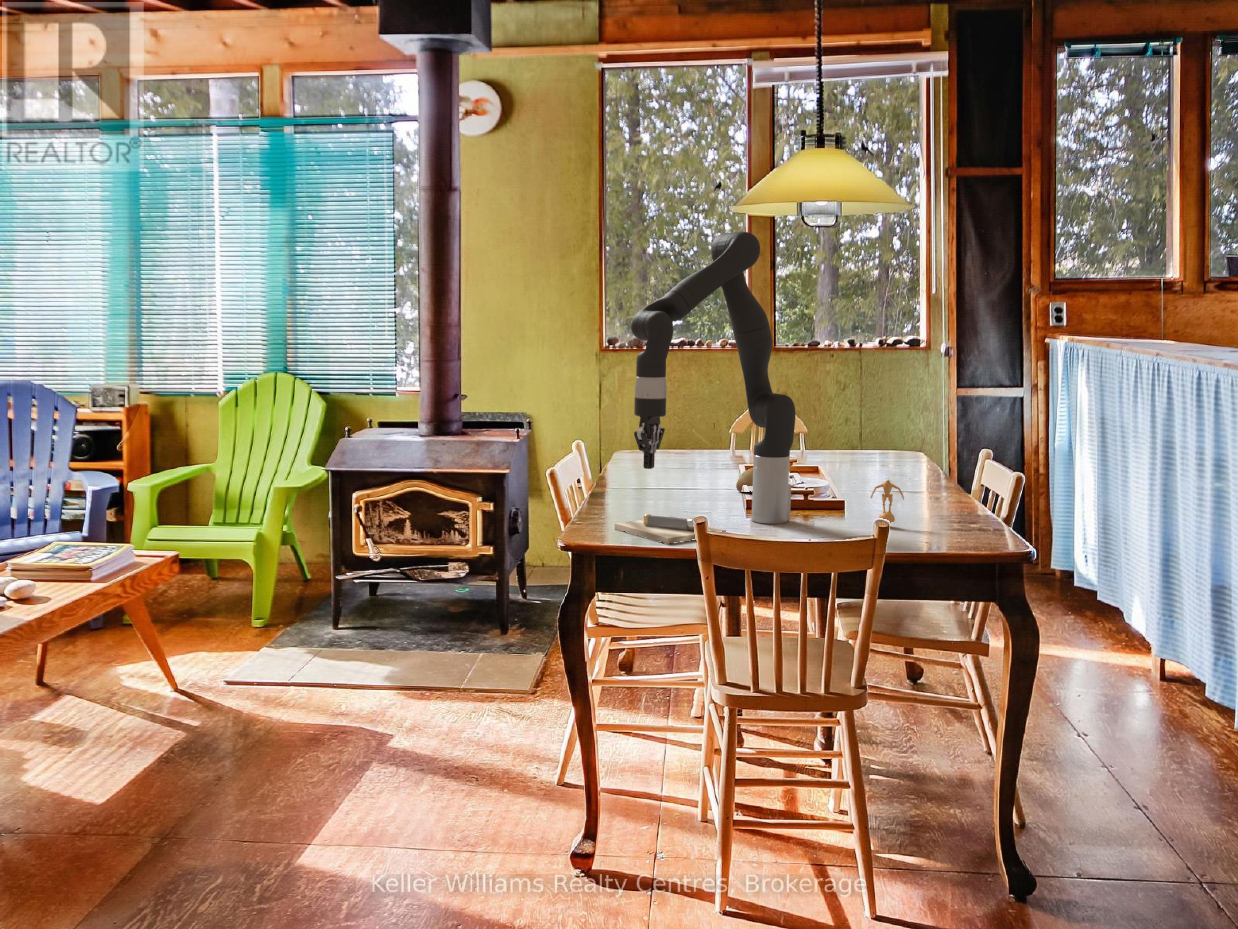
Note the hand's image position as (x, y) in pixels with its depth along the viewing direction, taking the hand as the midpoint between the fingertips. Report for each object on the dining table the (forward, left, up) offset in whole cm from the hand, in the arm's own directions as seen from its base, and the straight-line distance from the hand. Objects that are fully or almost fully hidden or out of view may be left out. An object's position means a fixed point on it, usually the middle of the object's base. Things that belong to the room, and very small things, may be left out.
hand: (648, 468), depth 265 cm
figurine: (-60, +22, -17) cm, 66 cm away
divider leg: (-6, +2, -15) cm, 16 cm away
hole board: (-7, 0, -16) cm, 18 cm away
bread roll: (-69, -34, -17) cm, 79 cm away
